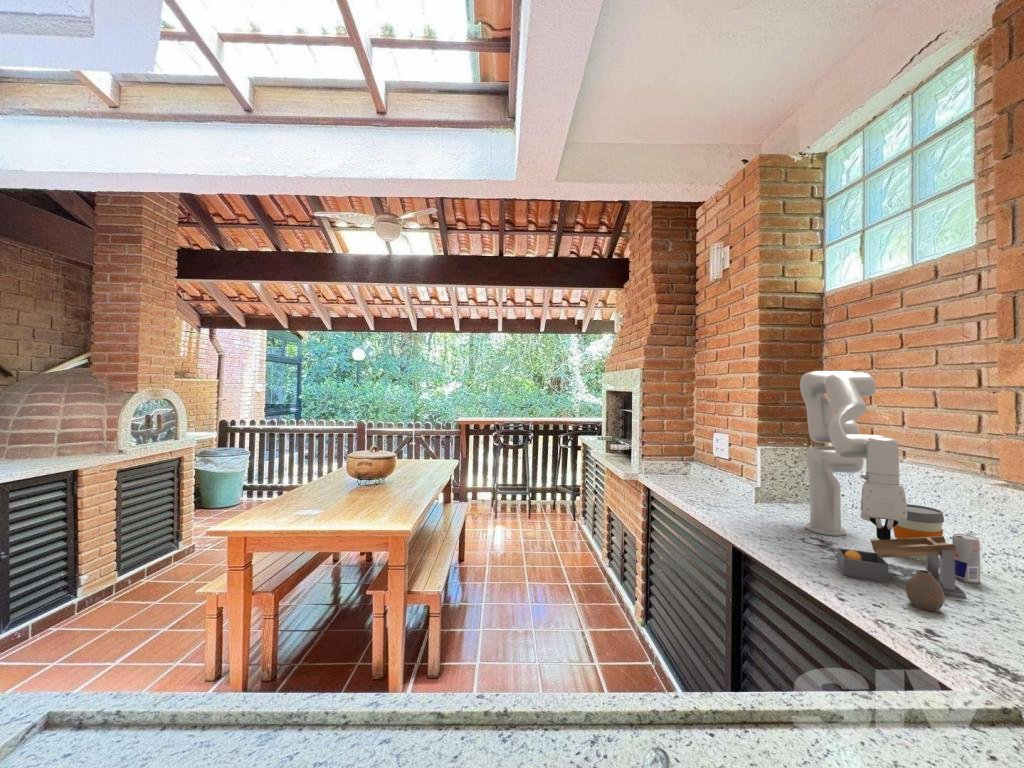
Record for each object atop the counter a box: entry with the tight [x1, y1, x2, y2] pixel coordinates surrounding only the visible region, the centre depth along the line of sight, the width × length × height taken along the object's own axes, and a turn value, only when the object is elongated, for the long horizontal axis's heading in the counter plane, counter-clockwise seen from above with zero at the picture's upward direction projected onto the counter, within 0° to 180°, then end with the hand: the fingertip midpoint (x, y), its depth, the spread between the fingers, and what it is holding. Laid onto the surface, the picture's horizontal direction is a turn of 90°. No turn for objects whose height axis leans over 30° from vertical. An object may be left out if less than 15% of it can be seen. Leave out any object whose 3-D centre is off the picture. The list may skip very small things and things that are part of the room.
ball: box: [844, 549, 862, 561], centre depth 130 cm, size 4×4×4 cm
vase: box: [905, 569, 945, 612], centre depth 109 cm, size 7×7×9 cm
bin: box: [836, 547, 889, 584], centre depth 129 cm, size 10×10×5 cm
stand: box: [915, 549, 967, 599], centre depth 121 cm, size 14×6×11 cm, turn 153°
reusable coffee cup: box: [892, 503, 945, 561], centre depth 143 cm, size 13×13×15 cm
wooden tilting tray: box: [870, 535, 957, 559], centre depth 127 cm, size 15×16×3 cm
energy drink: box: [952, 533, 981, 585], centre depth 125 cm, size 5×5×12 cm
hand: (883, 541), depth 133 cm, fingers closed
